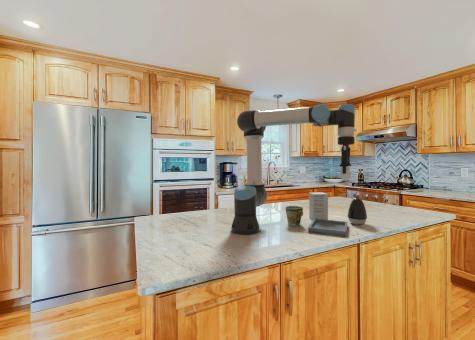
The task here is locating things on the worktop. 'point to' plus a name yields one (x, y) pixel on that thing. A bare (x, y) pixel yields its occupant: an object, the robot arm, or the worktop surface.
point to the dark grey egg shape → (357, 212)
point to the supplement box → (318, 205)
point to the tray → (328, 227)
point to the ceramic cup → (294, 215)
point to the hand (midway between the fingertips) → (345, 179)
